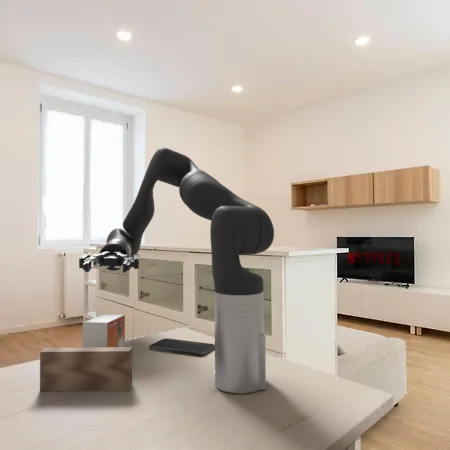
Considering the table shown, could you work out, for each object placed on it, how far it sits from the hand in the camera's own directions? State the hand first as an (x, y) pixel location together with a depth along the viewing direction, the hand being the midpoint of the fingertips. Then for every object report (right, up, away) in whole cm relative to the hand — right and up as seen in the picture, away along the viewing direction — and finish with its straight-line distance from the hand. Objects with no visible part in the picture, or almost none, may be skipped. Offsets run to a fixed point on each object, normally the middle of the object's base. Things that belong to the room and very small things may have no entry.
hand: (105, 268), depth 86 cm
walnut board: (+3, -20, -19) cm, 27 cm away
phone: (+17, -21, +5) cm, 28 cm away
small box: (+3, -20, -8) cm, 22 cm away
